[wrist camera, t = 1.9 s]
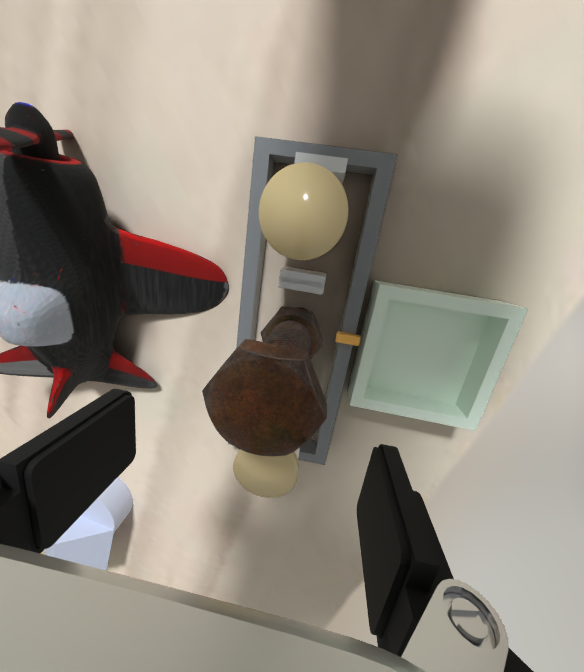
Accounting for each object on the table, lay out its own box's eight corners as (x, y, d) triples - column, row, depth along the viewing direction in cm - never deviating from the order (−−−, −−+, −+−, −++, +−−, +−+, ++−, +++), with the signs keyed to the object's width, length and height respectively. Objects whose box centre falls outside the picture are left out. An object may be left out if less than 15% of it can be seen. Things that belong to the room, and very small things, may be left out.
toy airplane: (-12, 324, 33) (-179, 427, 20) (-118, 60, 21) (-696, -87, 8) (222, 354, 38) (204, 449, 26) (247, 161, 26) (236, 167, 14)
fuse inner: (291, 194, 23) (263, 156, 13) (345, 202, 23) (357, 168, 13) (283, 251, 24) (254, 253, 15) (334, 259, 24) (338, 266, 15)
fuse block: (234, 431, 31) (222, 453, 28) (261, 145, 22) (249, 127, 19) (328, 452, 30) (328, 477, 27) (396, 163, 21) (409, 147, 18)
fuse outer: (267, 375, 28) (236, 438, 19) (311, 384, 28) (301, 453, 18) (262, 413, 30) (231, 489, 20) (303, 421, 29) (291, 503, 20)
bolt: (333, 342, 26) (337, 450, 12) (284, 356, 27) (237, 472, 13) (313, 284, 25) (291, 331, 11) (262, 302, 26) (183, 366, 12)
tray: (373, 280, 24) (379, 284, 21) (503, 301, 23) (528, 308, 20) (347, 389, 28) (349, 405, 25) (459, 411, 27) (475, 430, 24)
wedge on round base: (124, 545, 40) (137, 482, 36) (85, 602, 33) (96, 533, 29) (67, 522, 40) (73, 456, 36) (17, 574, 34) (18, 502, 29)
